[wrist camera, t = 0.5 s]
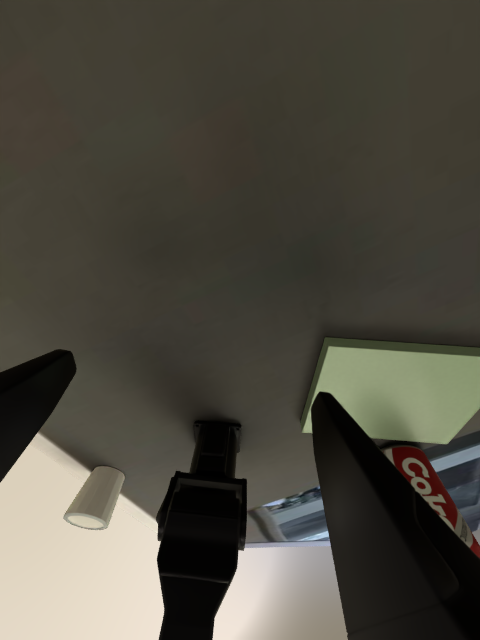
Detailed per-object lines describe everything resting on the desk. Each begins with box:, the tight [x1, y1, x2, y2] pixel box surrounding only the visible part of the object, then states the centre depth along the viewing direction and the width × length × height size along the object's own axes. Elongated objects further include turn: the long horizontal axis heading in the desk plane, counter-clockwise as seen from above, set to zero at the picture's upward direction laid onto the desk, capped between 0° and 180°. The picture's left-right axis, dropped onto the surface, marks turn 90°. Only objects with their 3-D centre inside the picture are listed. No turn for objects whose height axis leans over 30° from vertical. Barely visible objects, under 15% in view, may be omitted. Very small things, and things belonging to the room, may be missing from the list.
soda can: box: [381, 444, 480, 558], centre depth 28 cm, size 7×7×12 cm
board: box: [300, 337, 480, 444], centre depth 26 cm, size 14×18×2 cm
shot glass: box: [64, 466, 125, 530], centre depth 39 cm, size 7×7×7 cm
